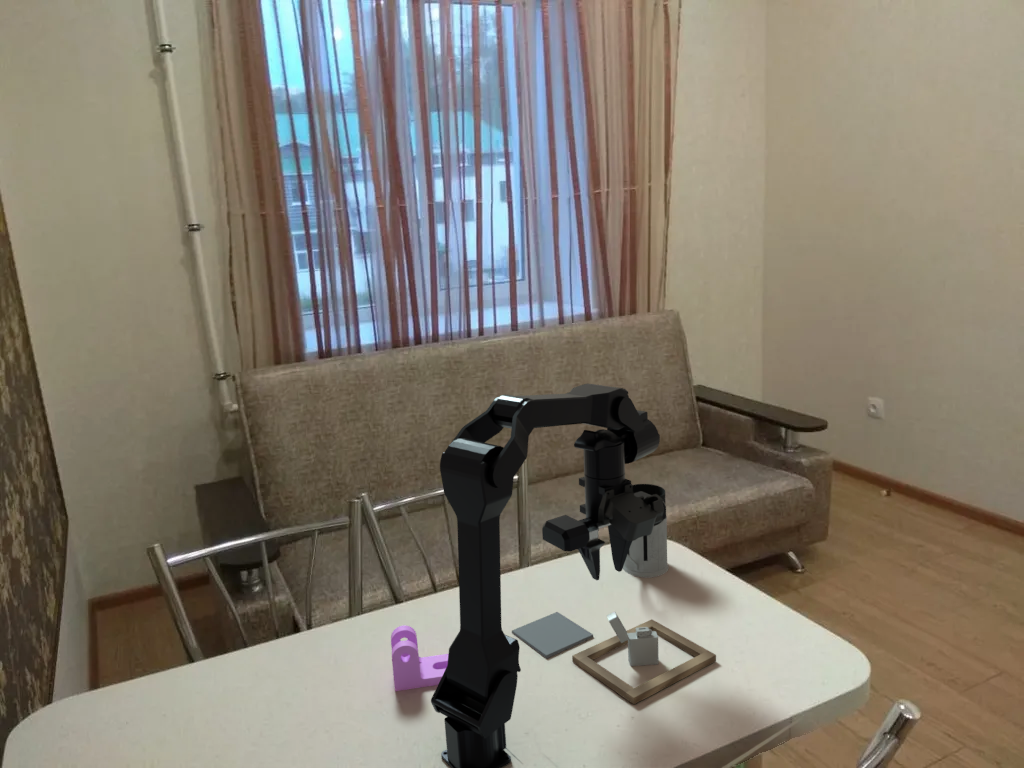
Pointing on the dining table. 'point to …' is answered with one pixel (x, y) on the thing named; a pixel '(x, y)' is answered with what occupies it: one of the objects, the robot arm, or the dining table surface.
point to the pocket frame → (653, 685)
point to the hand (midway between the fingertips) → (607, 574)
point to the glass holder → (649, 544)
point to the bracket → (414, 662)
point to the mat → (552, 634)
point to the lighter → (637, 642)
